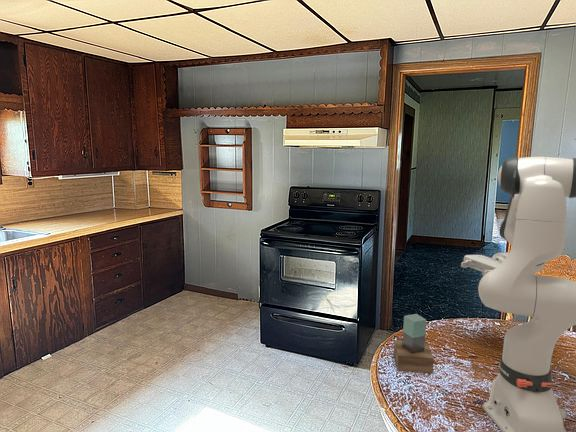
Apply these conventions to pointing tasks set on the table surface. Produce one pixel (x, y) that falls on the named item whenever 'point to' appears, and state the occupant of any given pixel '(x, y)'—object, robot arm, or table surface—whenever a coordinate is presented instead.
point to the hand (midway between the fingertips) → (472, 269)
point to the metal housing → (414, 333)
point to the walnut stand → (413, 359)
